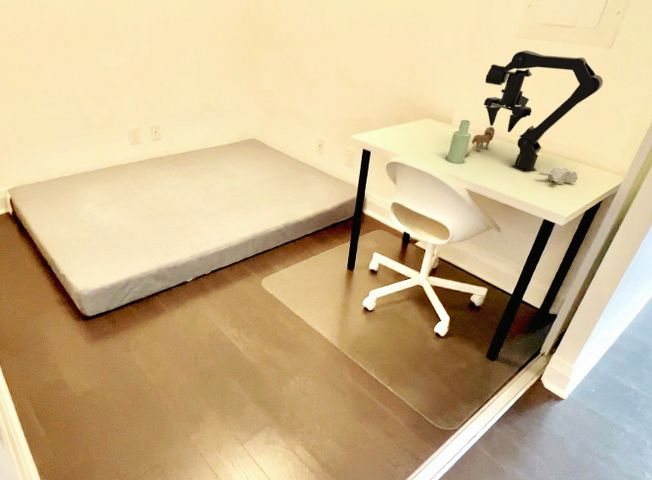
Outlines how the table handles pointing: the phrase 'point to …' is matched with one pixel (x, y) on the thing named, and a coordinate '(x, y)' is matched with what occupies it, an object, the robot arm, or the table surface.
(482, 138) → the lion figurine
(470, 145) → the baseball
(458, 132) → the bottle
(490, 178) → the table surface
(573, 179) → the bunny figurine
